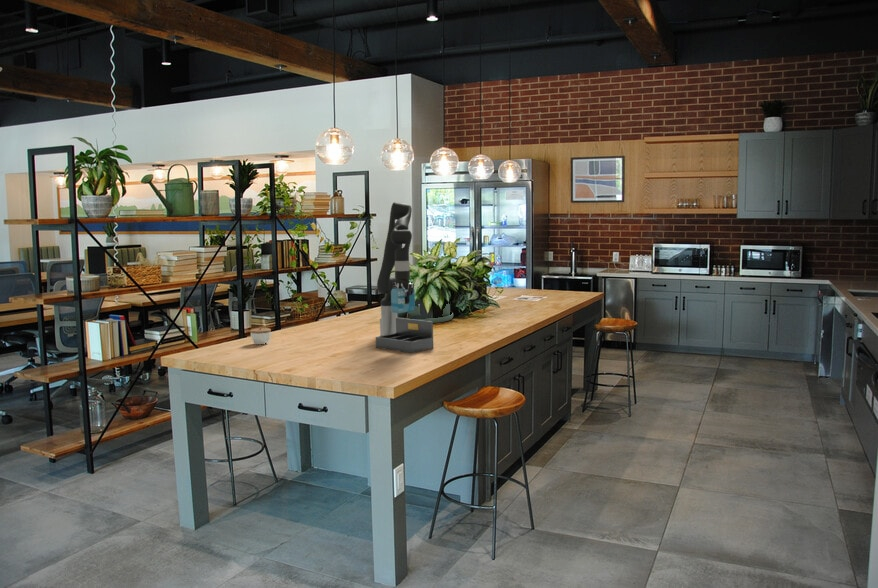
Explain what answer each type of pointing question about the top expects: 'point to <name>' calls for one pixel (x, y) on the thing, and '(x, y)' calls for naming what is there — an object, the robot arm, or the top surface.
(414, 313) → the tea set
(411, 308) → the blue flat rounded slab
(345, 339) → the top surface
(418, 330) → the rack
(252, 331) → the lidded jar
